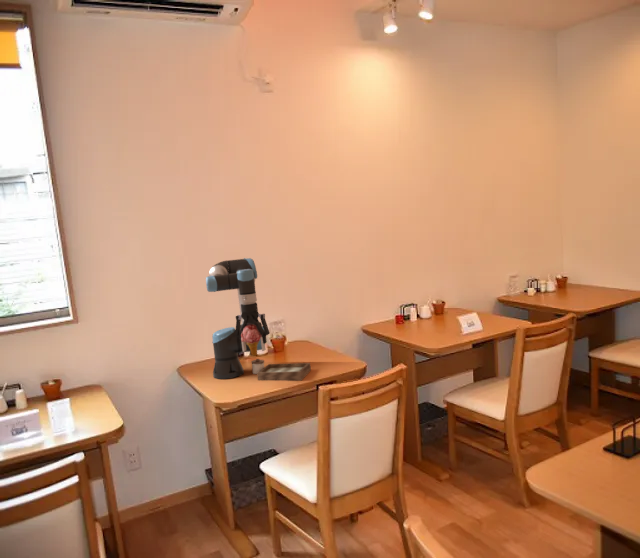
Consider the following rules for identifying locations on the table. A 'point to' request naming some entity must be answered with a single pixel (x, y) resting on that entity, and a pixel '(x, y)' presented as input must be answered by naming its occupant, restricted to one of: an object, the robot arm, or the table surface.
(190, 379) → the table surface
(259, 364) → the sugar pot
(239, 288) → the robot arm
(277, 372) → the tray
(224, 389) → the table surface
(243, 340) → the ice cream
